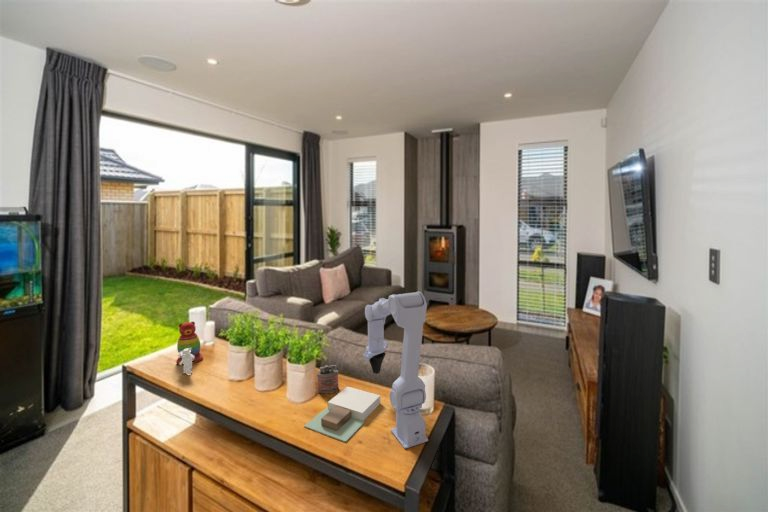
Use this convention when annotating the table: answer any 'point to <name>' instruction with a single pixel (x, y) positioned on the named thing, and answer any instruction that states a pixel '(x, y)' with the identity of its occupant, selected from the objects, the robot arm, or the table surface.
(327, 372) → the lighter
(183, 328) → the stacking bear
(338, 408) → the walnut tile
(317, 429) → the mat
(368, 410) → the white flat block
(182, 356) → the flower shoulder figurine
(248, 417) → the table surface
